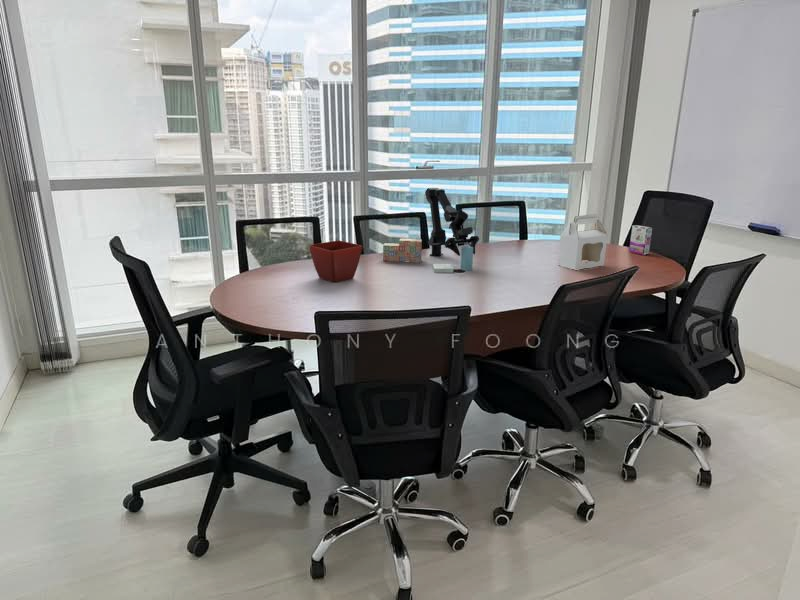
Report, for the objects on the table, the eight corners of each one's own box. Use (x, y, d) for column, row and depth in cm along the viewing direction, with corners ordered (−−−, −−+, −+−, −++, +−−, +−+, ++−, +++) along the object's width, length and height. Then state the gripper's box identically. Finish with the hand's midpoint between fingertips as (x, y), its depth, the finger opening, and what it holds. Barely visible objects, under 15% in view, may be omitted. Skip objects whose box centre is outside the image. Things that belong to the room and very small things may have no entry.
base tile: (432, 267, 309) (432, 263, 308) (451, 267, 309) (451, 263, 309) (434, 272, 299) (434, 268, 299) (453, 272, 300) (453, 268, 299)
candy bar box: (649, 254, 342) (653, 227, 337) (643, 255, 340) (647, 228, 335) (634, 251, 352) (637, 224, 347) (628, 251, 349) (631, 225, 344)
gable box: (574, 271, 304) (580, 218, 296) (556, 265, 315) (561, 215, 307) (604, 266, 315) (610, 215, 306) (585, 261, 326) (591, 212, 317)
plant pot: (339, 271, 300) (338, 239, 295) (363, 278, 287) (363, 245, 282) (309, 277, 287) (308, 244, 282) (333, 285, 274) (332, 251, 269)
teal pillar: (460, 268, 308) (461, 246, 304) (467, 267, 309) (468, 245, 306) (464, 270, 304) (465, 248, 300) (472, 269, 306) (473, 247, 302)
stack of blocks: (382, 261, 322) (382, 240, 318) (384, 259, 328) (384, 237, 324) (420, 262, 320) (421, 241, 316) (421, 260, 325) (422, 238, 322)
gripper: (447, 223, 300) (457, 247, 294) (478, 220, 307) (488, 244, 301) (440, 235, 309) (449, 259, 303) (470, 232, 317) (479, 256, 310)
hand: (467, 254), depth 304 cm, fingers open, 9 cm apart
